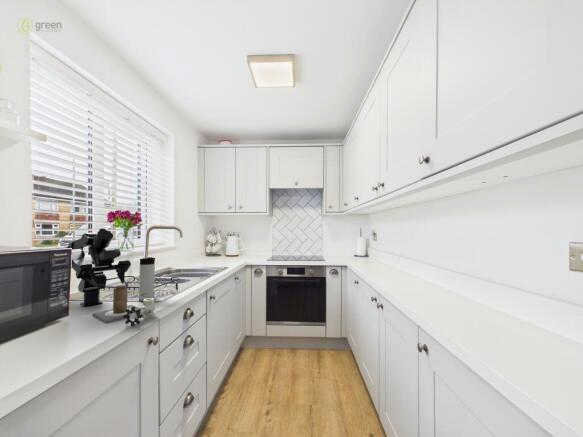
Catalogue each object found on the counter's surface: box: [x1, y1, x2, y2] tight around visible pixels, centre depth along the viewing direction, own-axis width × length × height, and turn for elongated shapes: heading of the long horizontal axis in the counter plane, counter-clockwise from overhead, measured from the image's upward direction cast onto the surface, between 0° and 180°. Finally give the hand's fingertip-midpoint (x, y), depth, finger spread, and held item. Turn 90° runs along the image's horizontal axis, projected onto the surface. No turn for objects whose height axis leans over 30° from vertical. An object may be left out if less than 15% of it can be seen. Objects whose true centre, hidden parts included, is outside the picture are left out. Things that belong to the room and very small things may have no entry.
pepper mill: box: [112, 284, 129, 314], centre depth 105 cm, size 5×5×10 cm
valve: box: [123, 298, 156, 327], centre depth 99 cm, size 7×7×12 cm
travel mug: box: [138, 256, 156, 302], centre depth 126 cm, size 6×7×20 cm
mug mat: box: [91, 304, 141, 324], centre depth 105 cm, size 14×14×1 cm
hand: (111, 284), depth 109 cm, fingers open, 9 cm apart
